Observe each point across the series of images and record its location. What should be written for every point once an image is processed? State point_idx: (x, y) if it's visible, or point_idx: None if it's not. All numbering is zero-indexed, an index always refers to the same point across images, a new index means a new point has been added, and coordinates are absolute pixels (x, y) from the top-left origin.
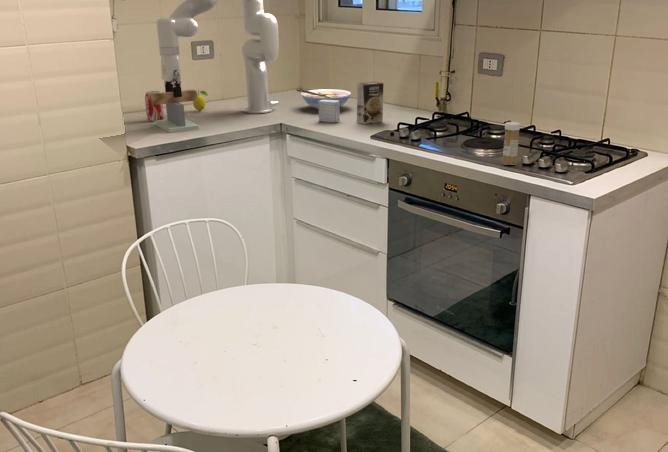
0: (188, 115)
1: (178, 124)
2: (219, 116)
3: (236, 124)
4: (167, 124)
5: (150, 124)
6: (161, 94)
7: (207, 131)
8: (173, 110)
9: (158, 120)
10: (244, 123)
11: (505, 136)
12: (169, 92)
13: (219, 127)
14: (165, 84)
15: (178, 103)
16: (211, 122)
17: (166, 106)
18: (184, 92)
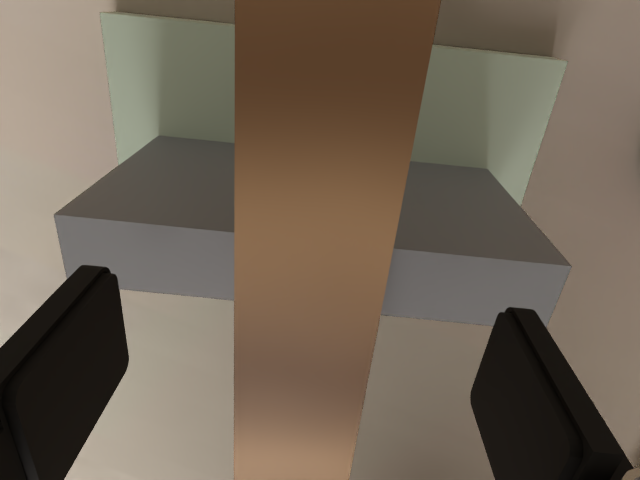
0: (624, 386)
1: (182, 142)
2: (432, 476)
3: (163, 444)
4: None
5: (596, 21)
6: (236, 122)
7: (43, 261)
8: None
9: (554, 101)
10: (166, 475)
11: None
12: (313, 317)
13: (131, 358)
14: (586, 452)
15: (187, 274)
16: None
17: (522, 224)
18: (238, 469)
